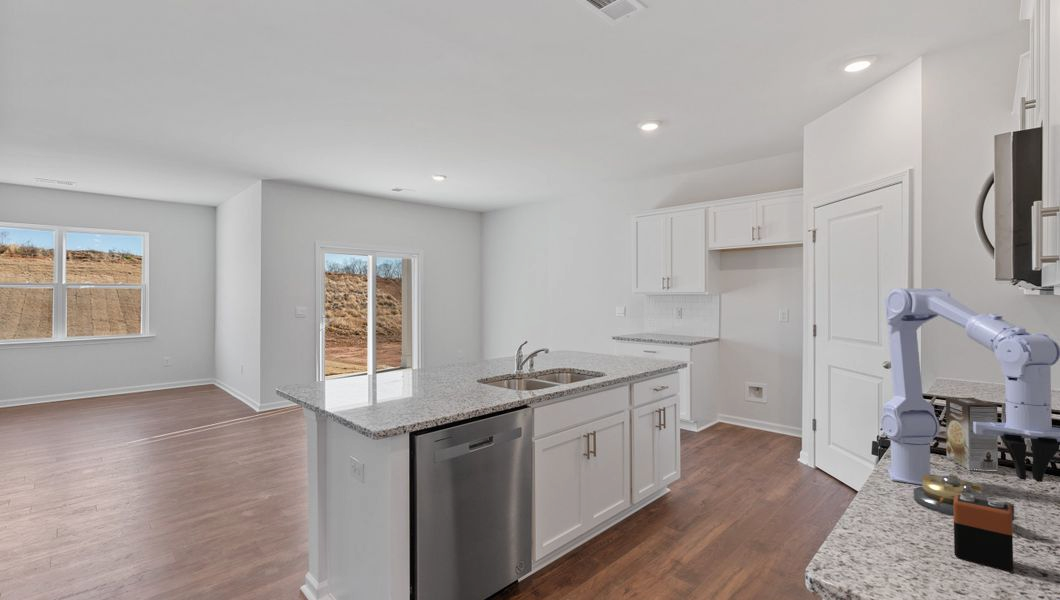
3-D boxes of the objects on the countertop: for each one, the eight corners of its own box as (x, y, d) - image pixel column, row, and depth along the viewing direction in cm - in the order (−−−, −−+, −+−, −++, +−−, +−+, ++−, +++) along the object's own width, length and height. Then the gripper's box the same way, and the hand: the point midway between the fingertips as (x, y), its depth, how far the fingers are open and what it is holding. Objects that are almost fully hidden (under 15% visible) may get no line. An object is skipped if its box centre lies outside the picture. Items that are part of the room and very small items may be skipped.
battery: (1013, 573, 74) (1012, 507, 74) (954, 557, 79) (953, 495, 79) (1012, 561, 78) (1011, 498, 78) (955, 547, 82) (954, 487, 82)
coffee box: (945, 459, 127) (943, 396, 127) (973, 460, 125) (972, 397, 125) (969, 471, 118) (967, 404, 118) (1000, 472, 116) (999, 404, 116)
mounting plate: (909, 489, 107) (909, 482, 107) (983, 500, 101) (983, 492, 101) (918, 509, 97) (918, 501, 97) (1000, 523, 91) (1000, 514, 91)
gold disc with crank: (911, 488, 103) (911, 470, 103) (955, 487, 103) (954, 470, 103) (985, 525, 86) (984, 504, 86) (1037, 525, 86) (1037, 504, 86)
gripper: (979, 402, 88) (980, 479, 87) (1097, 411, 80) (1099, 494, 80) (969, 395, 94) (971, 467, 93) (1079, 403, 86) (1080, 480, 86)
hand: (1029, 479), depth 87 cm, fingers closed
